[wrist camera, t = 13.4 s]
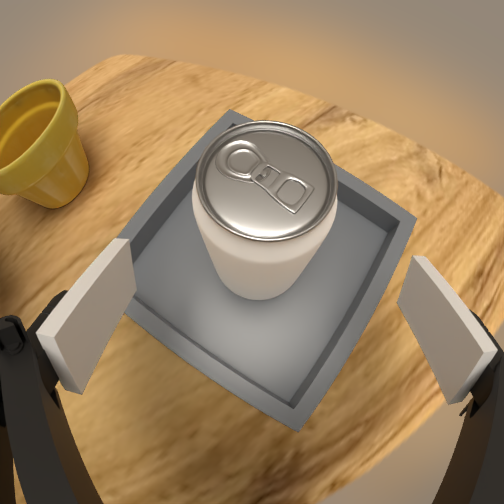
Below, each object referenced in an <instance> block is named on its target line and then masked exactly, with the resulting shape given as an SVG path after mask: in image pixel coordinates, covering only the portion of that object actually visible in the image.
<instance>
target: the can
mask: <svg viewBox="0 0 504 504" xmlns="http://www.w3.org/2000/svg"><path fill="white" fill-rule="evenodd" d="M337 188H338V179H337V173H336V169H335V166H334V163H333V161H332V159H331V157H330V155H329V153H328V152H327V151H326V149H325V148H324V147H323V146H322V144H321V143H320V142H319V141H317V140H316V139H315V138H314V137H313V136H311V135H310V134H308V133H307V132H305V131H304V130H302V129H300V128H298V127H295V126H293V125H290V124H286V123H283V122H277V121H268V120H260V121H251V122H246V123H242V124H239V125H236V126H233V127H231V128H229V129H227V130H225V131H224V132H222V133H221V134H219V135H218V136H217V137H216V138H214V139H213V140H212V141H211V142H210V143H209V145H208V146H207V147H206V148H205V150H204V151H203V153H202V155H201V157H200V159H199V162H198V165H197V169H196V178H195V181H194V185H193V191H192V204H193V211H194V215H195V219H196V222H197V225H198V227H199V230H200V233H201V235H202V238H203V240H204V243H205V245H206V248H207V250H208V253H209V255H210V257H211V260H212V262H213V264H214V267H215V269H216V271H217V273H218V275H219V277H220V279H221V280H222V282H223V283H224V284H225V286H226V287H227V288H228V289H230V290H231V291H232V292H233V293H235V294H237V295H239V296H241V297H243V298H246V299H251V300H266V299H271V298H274V297H276V296H278V295H280V294H282V293H284V292H285V291H286V290H287V289H289V288H290V287H291V286H292V284H293V283H294V282H295V281H296V279H297V278H298V277H299V275H300V274H301V273H302V271H303V270H304V268H305V267H306V266H307V264H308V263H309V261H310V260H311V259H312V257H313V256H314V254H315V253H316V251H317V250H318V248H319V247H320V245H321V244H322V242H323V241H324V239H325V238H326V236H327V234H328V232H329V231H330V229H331V227H332V224H333V221H334V219H335V215H336V210H337Z"/></svg>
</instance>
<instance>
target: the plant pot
mask: <svg viewBox="0 0 504 504" xmlns="http://www.w3.org/2000/svg"><path fill="white" fill-rule="evenodd" d="M77 126H78V113H77V110H76V107H75V105H74V103H73V101H72V99H71V97H70V95H69V94H68V92H67V90H66V88H65V87H64V85H63V84H62V83H61V82H59V81H58V80H54V79H44V80H39V81H36V82H33V83H31V84H29V85H27V86H25V87H23V88H21V89H20V90H18V91H17V92H15V93H14V94H13V95H12V96H10V97H9V98H8V99H7V100H6V101H5V102H4V103H2V105H1V106H0V194H3V195H14V194H16V195H19V196H21V197H23V198H26V199H28V200H30V201H33V202H35V203H37V204H39V205H42V206H44V207H46V208H51V209H52V208H59V207H62V206H64V205H66V204H68V203H69V202H71V201H72V200H73V199H74V198H75V197H76V196H77V195H78V194H79V193H80V191H81V190H82V188H83V187H84V185H85V183H86V181H87V178H88V174H89V164H88V160H87V157H86V155H85V152H84V149H83V146H82V143H81V140H80V137H79V134H78V131H77Z"/></svg>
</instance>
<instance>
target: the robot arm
mask: <svg viewBox="0 0 504 504" xmlns="http://www.w3.org/2000/svg"><path fill="white" fill-rule="evenodd" d="M136 290H137V288H136V282H135V276H134V270H133V263H132V256H131V249H130V242H129V239H119V238H114V239H113V240H112V241H111V243H110V244H109V245H108V246H107V247H106V248H105V249H104V250H103V251H102V252H101V254H100V255H99V256H98V257H97V258H96V259H95V260H94V261H93V263H92V264H91V265H90V266H89V267H88V268H87V269H86V271H85V272H84V273H83V274H82V275H81V276H80V278H79V279H78V280H77V281H76V282H75V284H74V285H73V286H72V287H71V288H70V290H69V291H66V290H64V291H62V292H61V293H59V294H58V295H56V296H55V297H54V298H53V299H52V300H51V301H50V302H49V304H48V305H47V307H45V309H44V310H43V311H42V313H41V314H40V315H39V316H38V317H37V319H36V320H35V321H34V322H33V324H32V325H31V326H30V328H29V329H28V330H27V332H26V331H25V328H24V326H23V324H22V322H21V319H20V318H19V317H17V316H13V315H9V316H5V317H2V318H0V504H16V499H15V489H14V474H13V459H14V463H15V467H16V470H17V474H18V478H19V481H20V484H21V488H22V491H23V494H24V497H25V500H26V503H27V504H103V502H102V500H101V498H100V496H99V495H98V493H97V491H96V489H95V487H94V485H93V483H92V480H91V478H90V476H89V474H88V472H87V470H86V467H85V465H84V463H83V461H82V458H81V456H80V453H79V451H78V449H77V446H76V444H75V441H74V438H73V436H72V433H71V430H70V428H69V425H68V422H67V419H66V416H65V413H64V410H63V407H62V404H61V400H60V397H59V394H58V391H57V390H56V388H55V386H56V384H57V382H58V380H60V382H61V384H62V386H63V387H64V389H65V390H67V391H71V392H74V393H78V394H81V395H82V394H83V392H84V389H85V387H86V385H87V383H88V381H89V379H90V377H91V375H92V373H93V371H94V369H95V367H96V365H97V363H98V361H99V359H100V357H101V355H102V353H103V351H104V349H105V347H106V345H107V343H108V341H109V339H110V338H111V336H112V334H113V332H114V330H115V328H116V326H117V324H118V323H119V321H120V319H121V317H122V315H123V313H124V312H125V310H126V308H127V306H128V304H129V303H130V301H131V299H132V297H133V296H134V294H135V292H136ZM397 304H398V306H399V308H400V309H401V311H402V313H403V315H404V317H405V318H406V320H407V322H408V324H409V326H410V328H411V330H412V331H413V333H414V335H415V337H416V339H417V341H418V343H419V345H420V347H421V349H422V351H423V353H424V355H425V357H426V359H427V361H428V363H429V365H430V367H431V369H432V371H433V373H434V375H435V377H436V379H437V381H438V384H439V386H440V388H441V390H442V392H443V395H444V397H445V399H446V401H447V403H448V405H449V404H453V403H458V402H462V401H463V400H464V398H465V397H466V396H467V395H468V393H469V392H471V393H472V395H473V398H472V399H471V400H470V402H469V403H468V404H467V405H466V407H465V408H464V409H463V410H462V412H461V413H460V415H459V416H462V415H463V414H464V413H465V412H466V411H467V412H466V416H465V419H464V423H463V426H462V429H461V432H460V436H459V439H458V441H457V444H456V448H455V450H454V453H453V456H452V459H451V461H450V464H449V466H448V469H447V471H446V474H445V476H444V478H443V481H442V483H441V485H440V488H439V490H438V492H437V494H436V497H435V499H434V501H433V503H432V504H504V352H503V350H502V349H501V348H500V346H499V345H498V343H497V342H496V340H495V339H494V337H493V336H492V335H491V333H490V332H488V329H487V328H486V326H484V324H483V322H482V321H481V319H480V318H479V317H478V316H477V315H476V314H475V313H474V312H472V311H471V310H470V309H468V308H467V306H466V305H465V304H464V303H463V301H462V300H461V299H460V298H459V296H458V295H457V294H456V292H455V291H454V290H453V289H452V288H451V286H450V285H449V284H448V283H447V281H446V280H445V279H444V278H443V277H442V275H441V274H440V273H439V272H438V271H437V270H436V268H435V267H434V266H433V265H432V264H431V263H430V261H429V260H428V259H427V258H426V257H425V256H413V255H412V258H411V261H410V265H409V268H408V271H407V274H406V277H405V280H404V283H403V286H402V289H401V292H400V295H399V298H398V301H397Z"/></svg>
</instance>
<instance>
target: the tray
mask: <svg viewBox="0 0 504 504" xmlns="http://www.w3.org/2000/svg"><path fill="white" fill-rule="evenodd" d="M251 121H254V120H252V119H250V118H247V117H245V116H243V115H241V114H239V113H237V112H235V111H233V110H230V109H229V110H228V111H227V112H226V113H225V114H224V115H223V116H222V117H221V118H220V119H219V120H218V121H217V122H216V123H215V124H214V125H213V126H212V127H211V128H210V129H209V130H208V131H207V132H206V133H205V135H204V136H203V137H202V138H201V139H200V140H199V141H198V142H197V143H196V144H195V145H194V146H193V147H192V148H191V149H190V150H189V152H188V153H187V154H186V155H185V156H184V157H183V158H182V159H181V160H180V161H179V163H178V164H177V165H176V166H175V167H174V168H173V169H172V170H171V172H170V173H169V174H168V175H167V176H166V177H165V178H164V180H163V181H162V182H161V183H160V184H159V185H158V187H157V188H156V189H155V190H154V191H153V193H152V194H151V195H150V196H149V197H148V199H147V200H146V201H145V202H144V203H143V205H142V206H141V207H140V208H139V210H138V211H137V212H136V213H135V215H134V216H133V217H132V218H131V220H130V221H129V222H128V223H127V225H126V226H125V227H124V229H123V230H122V231H121V233H120V234H119V235H118V236H117V238H119V239H129V242H130V249H131V256H132V263H133V270H134V276H135V282H136V288H137V290H136V292H135V294H134V296H133V297H132V299H131V301H130V303H129V304H128V306H127V308H126V310H125V312H124V313H125V314H126V315H128V316H129V317H130V318H131V319H132V320H134V321H135V322H136V323H137V324H138V325H140V326H141V327H142V328H143V329H145V330H146V331H147V332H148V333H150V334H151V335H152V336H153V337H155V338H156V339H157V340H158V341H160V342H161V343H162V344H164V345H165V346H166V347H167V348H169V349H170V350H171V351H173V352H174V353H175V354H177V355H178V356H179V357H181V358H182V359H184V360H185V361H186V362H188V363H189V364H190V365H192V366H193V367H195V368H196V369H197V370H199V371H200V372H202V373H203V374H205V375H206V376H207V377H209V378H210V379H212V380H213V381H215V382H216V383H218V384H219V385H221V386H222V387H224V388H225V389H227V390H228V391H230V392H231V393H233V394H234V395H236V396H238V397H239V398H241V399H242V400H244V401H245V402H247V403H249V404H250V405H252V406H254V407H255V408H257V409H258V410H260V411H262V412H263V413H265V414H267V415H268V416H270V417H272V418H274V419H275V420H277V421H279V422H281V423H282V424H284V425H286V426H288V427H289V428H291V429H293V430H295V431H297V432H299V431H300V430H301V428H302V427H303V426H304V424H305V423H306V421H307V420H308V419H309V417H310V416H311V414H312V413H313V412H314V410H315V409H316V407H317V406H318V404H319V403H320V401H321V400H322V398H323V397H324V395H325V394H326V392H327V391H328V389H329V388H330V386H331V385H332V383H333V382H334V380H335V378H336V377H337V375H338V374H339V372H340V370H341V369H342V367H343V366H344V364H345V362H346V361H347V359H348V357H349V356H350V354H351V352H352V351H353V349H354V347H355V345H356V344H357V342H358V340H359V338H360V337H361V335H362V333H363V331H364V330H365V328H366V326H367V324H368V322H369V320H370V319H371V317H372V315H373V313H374V311H375V309H376V307H377V305H378V303H379V301H380V300H381V298H382V296H383V294H384V292H385V290H386V288H387V285H388V283H389V281H390V279H391V277H392V275H393V273H394V271H395V269H396V267H397V264H398V262H399V260H400V258H401V256H402V253H403V251H404V249H405V247H406V244H407V242H408V240H409V237H410V235H411V232H412V230H413V228H414V225H415V223H416V220H417V218H416V217H415V216H413V215H412V214H410V213H409V212H408V211H406V210H405V209H403V208H402V207H400V206H399V205H398V204H396V203H395V202H393V201H392V200H390V199H389V198H387V197H386V196H384V195H383V194H381V193H380V192H378V191H377V190H375V189H374V188H372V187H371V186H369V185H368V184H366V183H364V182H363V181H361V180H360V179H358V178H356V177H355V176H353V175H352V174H350V173H348V172H347V171H345V170H344V169H342V168H340V167H339V166H337V165H335V164H334V166H335V169H336V173H337V179H338V188H337V210H336V215H335V219H334V221H333V224H332V227H331V229H330V231H329V232H328V234H327V236H326V238H325V239H324V241H323V242H322V244H321V245H320V247H319V248H318V250H317V251H316V253H315V254H314V256H313V257H312V259H311V260H310V261H309V263H308V264H307V266H306V267H305V268H304V270H303V271H302V273H301V274H300V275H299V277H298V278H297V279H296V281H295V282H294V283H293V284H292V286H291V287H290V288H289V289H287V290H286V291H285V292H284V293H282V294H280V295H278V296H276V297H274V298H271V299H266V300H251V299H246V298H243V297H241V296H239V295H237V294H235V293H233V292H232V291H231V290H230V289H228V288H227V287H226V286H225V284H224V283H223V282H222V280H221V279H220V277H219V275H218V273H217V271H216V269H215V267H214V264H213V262H212V260H211V257H210V255H209V253H208V250H207V248H206V245H205V243H204V240H203V238H202V235H201V233H200V230H199V227H198V225H197V222H196V219H195V215H194V211H193V204H192V191H193V185H194V181H195V178H196V169H197V165H198V162H199V159H200V157H201V155H202V153H203V151H204V150H205V148H206V147H207V146H208V145H209V143H210V142H211V141H212V140H213V139H214V138H216V137H217V136H218V135H219V134H221V133H222V132H224V131H225V130H227V129H229V128H231V127H233V126H236V125H239V124H242V123H246V122H251Z"/></svg>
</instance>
